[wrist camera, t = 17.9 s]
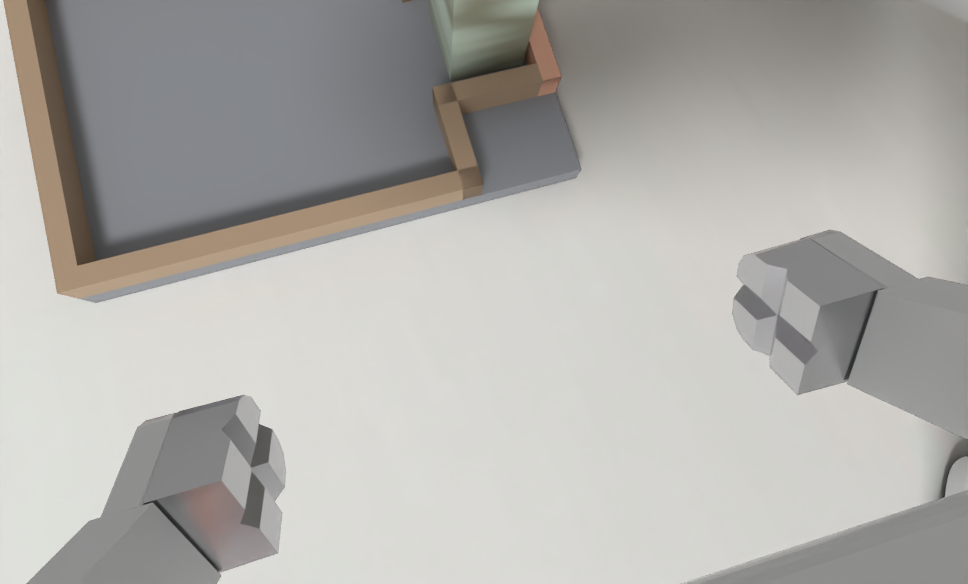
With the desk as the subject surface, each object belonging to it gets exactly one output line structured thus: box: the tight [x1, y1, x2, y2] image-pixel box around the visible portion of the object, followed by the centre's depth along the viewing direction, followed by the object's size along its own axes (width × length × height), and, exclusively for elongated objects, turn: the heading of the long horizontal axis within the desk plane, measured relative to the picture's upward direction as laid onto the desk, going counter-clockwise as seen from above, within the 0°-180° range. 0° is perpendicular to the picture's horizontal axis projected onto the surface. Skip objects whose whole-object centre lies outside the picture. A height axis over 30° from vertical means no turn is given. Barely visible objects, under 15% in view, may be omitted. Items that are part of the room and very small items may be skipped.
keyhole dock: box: [3, 0, 581, 303], centre depth 28 cm, size 25×17×3 cm
